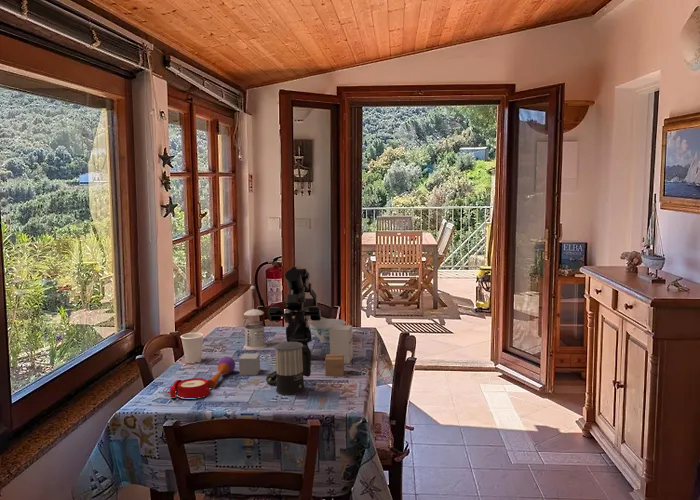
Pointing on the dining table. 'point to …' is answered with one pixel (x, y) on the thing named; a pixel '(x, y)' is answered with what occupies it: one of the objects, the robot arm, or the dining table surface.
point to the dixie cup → (192, 346)
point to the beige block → (249, 364)
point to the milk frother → (290, 367)
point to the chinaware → (324, 328)
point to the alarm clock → (190, 388)
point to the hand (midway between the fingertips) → (292, 333)
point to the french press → (254, 330)
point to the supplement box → (341, 341)
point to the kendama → (222, 370)
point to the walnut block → (334, 365)
